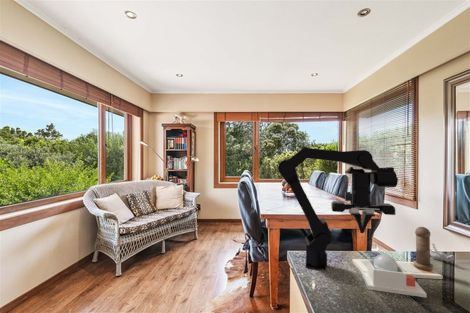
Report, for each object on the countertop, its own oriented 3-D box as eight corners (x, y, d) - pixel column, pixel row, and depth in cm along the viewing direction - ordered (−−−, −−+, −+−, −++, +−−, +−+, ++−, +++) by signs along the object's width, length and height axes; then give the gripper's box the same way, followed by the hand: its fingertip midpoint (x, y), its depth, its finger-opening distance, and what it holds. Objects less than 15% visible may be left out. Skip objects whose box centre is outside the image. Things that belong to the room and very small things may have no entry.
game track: (363, 274, 77) (363, 271, 77) (352, 261, 87) (352, 258, 87) (442, 279, 74) (442, 275, 74) (421, 265, 84) (421, 262, 84)
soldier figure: (433, 256, 95) (465, 257, 84) (428, 265, 94) (460, 269, 82) (417, 241, 96) (447, 241, 85) (412, 251, 94) (442, 252, 83)
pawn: (419, 270, 77) (419, 228, 78) (410, 263, 82) (409, 224, 83) (436, 270, 77) (436, 229, 77) (426, 264, 82) (425, 225, 82)
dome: (376, 278, 69) (376, 257, 69) (371, 269, 75) (371, 250, 75) (400, 281, 67) (400, 260, 67) (393, 272, 73) (393, 252, 73)
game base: (368, 289, 68) (367, 269, 68) (361, 274, 77) (361, 257, 77) (426, 297, 64) (426, 276, 64) (413, 281, 73) (412, 263, 73)
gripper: (385, 185, 87) (386, 228, 87) (330, 184, 92) (330, 224, 92) (395, 188, 76) (396, 238, 76) (332, 187, 82) (332, 233, 82)
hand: (361, 233), depth 82 cm, fingers closed
